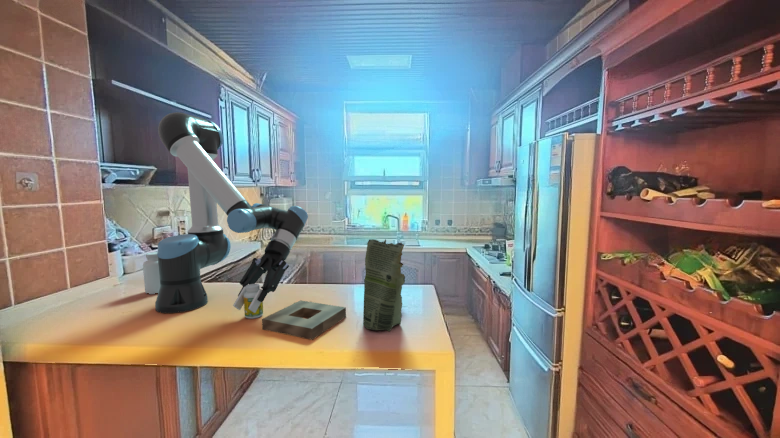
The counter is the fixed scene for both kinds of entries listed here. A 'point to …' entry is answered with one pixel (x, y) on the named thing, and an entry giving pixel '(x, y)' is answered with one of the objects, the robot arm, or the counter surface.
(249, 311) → the supplement bottle
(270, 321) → the frame
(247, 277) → the robot arm
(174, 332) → the counter surface
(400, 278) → the pouch
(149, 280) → the pill bottle
